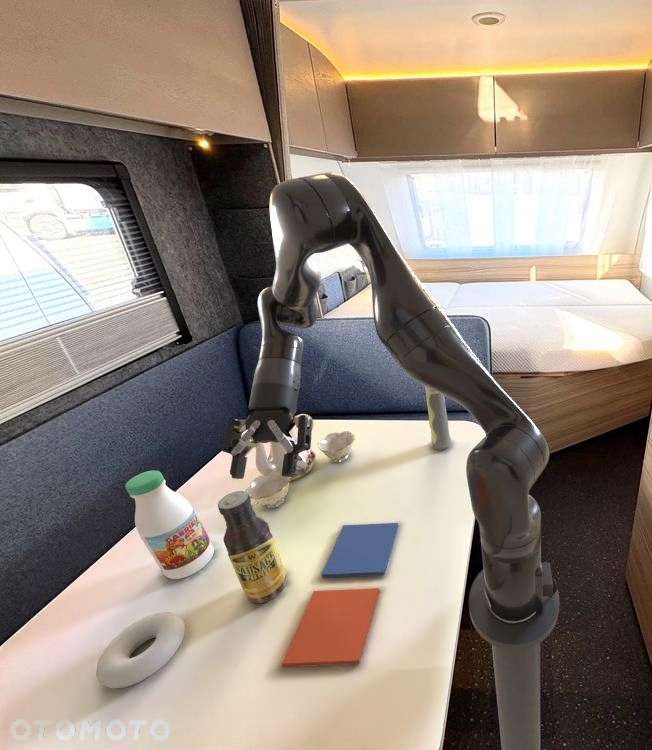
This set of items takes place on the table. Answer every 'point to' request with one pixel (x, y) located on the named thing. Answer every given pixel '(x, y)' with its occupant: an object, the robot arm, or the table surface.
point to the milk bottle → (169, 526)
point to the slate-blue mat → (361, 550)
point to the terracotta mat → (333, 628)
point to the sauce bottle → (251, 549)
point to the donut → (127, 671)
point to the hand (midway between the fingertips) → (262, 477)
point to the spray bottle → (438, 419)
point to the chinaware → (276, 486)
